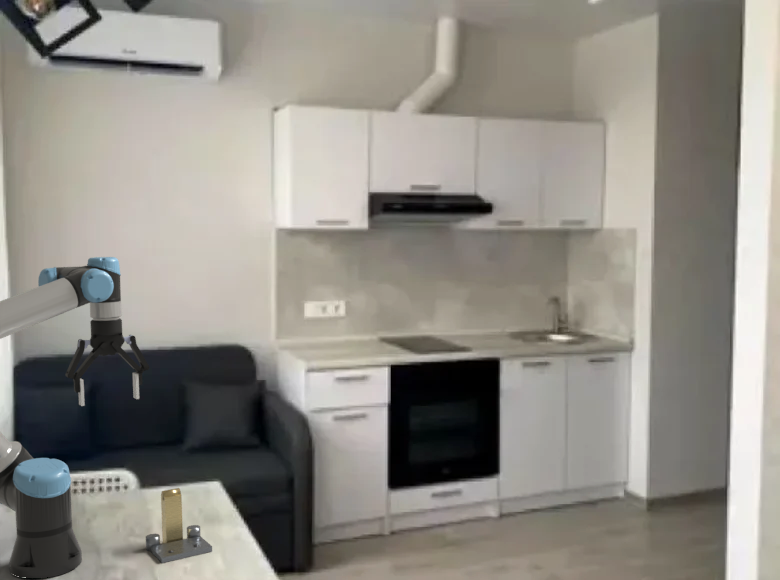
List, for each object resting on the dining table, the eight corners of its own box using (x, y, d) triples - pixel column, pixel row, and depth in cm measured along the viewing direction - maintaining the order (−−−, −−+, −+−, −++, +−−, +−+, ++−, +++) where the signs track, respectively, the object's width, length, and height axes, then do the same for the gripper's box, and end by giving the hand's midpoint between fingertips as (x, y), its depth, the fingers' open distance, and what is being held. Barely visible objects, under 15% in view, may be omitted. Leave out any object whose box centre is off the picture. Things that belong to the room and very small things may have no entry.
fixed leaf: (159, 563, 192) (158, 550, 192) (144, 547, 201) (143, 535, 201) (214, 550, 199) (214, 538, 199) (197, 536, 209) (197, 524, 208)
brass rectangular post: (166, 547, 202) (164, 492, 201) (162, 543, 204) (160, 489, 203) (183, 543, 204) (181, 489, 203) (178, 539, 207) (177, 486, 205)
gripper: (150, 313, 223) (153, 393, 225) (50, 320, 210) (54, 405, 212) (159, 316, 217) (162, 397, 219) (57, 323, 204) (61, 410, 206)
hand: (109, 401), depth 215 cm, fingers open, 13 cm apart
